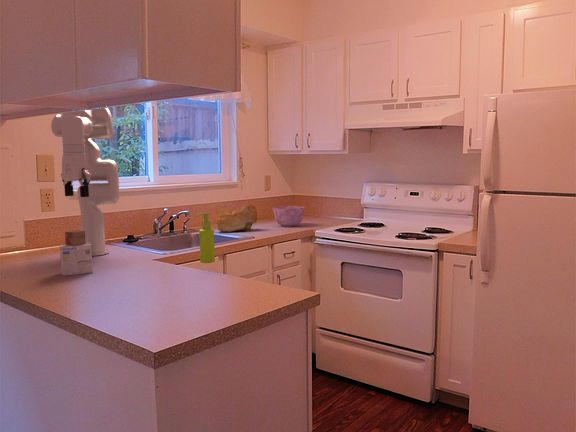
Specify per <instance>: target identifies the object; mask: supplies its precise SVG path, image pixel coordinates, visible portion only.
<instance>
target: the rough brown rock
mask: <svg viewBox="0 0 576 432" xmlns="http://www.w3.org/2000/svg"><path fill="white" fill-rule="evenodd" d="M257 213H258V212H257V209H256V207H255V206H254V205H252V204H251V205H250V204H249V205H245V204H244V205H242V206H241V207H240V208H239V209H237V210H233V211H230V210H228V209H226V208H222V207H221V208H218V209H217V211H216V214H217V220H216V221H217V225H216V227H217V230H218V231H220V232H223V233H226V232H229V233H231V232H236V231H241V230H243V231H244V232H249V231H251V229H252V227H253V224H255V223H257V221H258V214H257Z"/></svg>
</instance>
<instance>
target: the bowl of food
mask: <svg viewBox="0 0 576 432" xmlns="http://www.w3.org/2000/svg"><path fill="white" fill-rule="evenodd" d="M305 210H306V207H305V206H301V205H281V206H280V205H278V206H274V207H272V212H273V215H274V219H275V222H276V223H277V224H279V225H280V226H282V227H286V228H294V227H296V226H297V225H299V224H300V223H302V221H303V219H304V215H305Z"/></svg>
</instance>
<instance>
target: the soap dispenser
mask: <svg viewBox="0 0 576 432" xmlns="http://www.w3.org/2000/svg"><path fill="white" fill-rule="evenodd" d="M195 215H196V216H197V217H198V216H203V220H202V221H201V229H199V230H198V232H199V233H198V234H199V240H198V241H199V259H200V261H199V262H200V263H201V264H211V263H215V261H216V259H215V258H216V257H215V255H216V254H215V230H214V229H213V228H211V227H212V226H211V225H212V223H211V220H209V216H210V215H211V213H210V212H199V213H196V214H195Z"/></svg>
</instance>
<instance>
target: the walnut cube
mask: <svg viewBox="0 0 576 432" xmlns="http://www.w3.org/2000/svg"><path fill="white" fill-rule="evenodd" d="M64 237H65V238H64V240H65V241H64V243H65V245H69V246H77V245H84V244H86V240H85V231H82V229H81V230H80V229H79V230H78V229H75V230H68V231H64Z"/></svg>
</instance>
